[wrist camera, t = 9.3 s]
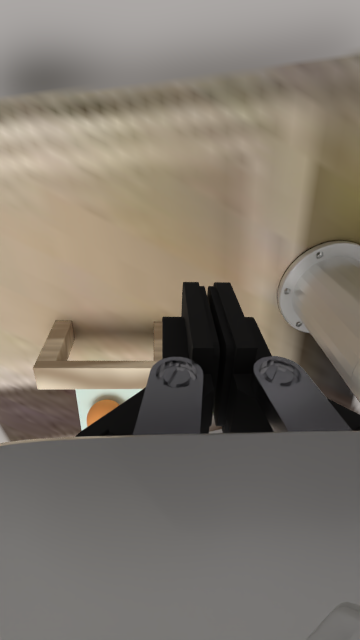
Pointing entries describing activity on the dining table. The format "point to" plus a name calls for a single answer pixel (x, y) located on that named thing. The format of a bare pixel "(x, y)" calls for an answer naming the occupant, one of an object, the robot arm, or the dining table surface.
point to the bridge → (89, 365)
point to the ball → (100, 410)
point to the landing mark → (92, 396)
